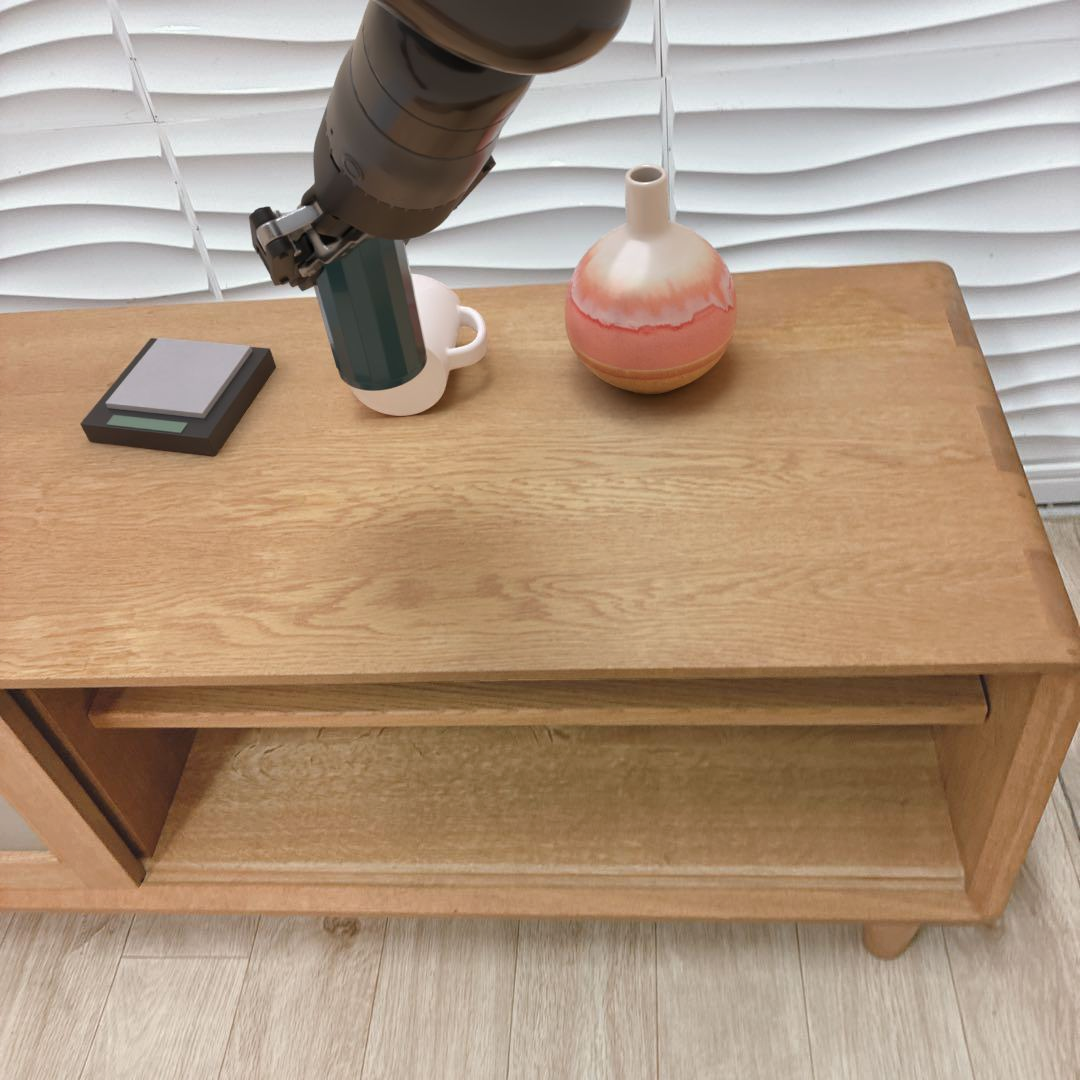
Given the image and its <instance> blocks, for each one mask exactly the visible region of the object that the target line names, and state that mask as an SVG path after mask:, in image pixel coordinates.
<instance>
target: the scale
mask: <svg viewBox="0 0 1080 1080" xmlns="http://www.w3.org/2000/svg"><path fill="white" fill-rule="evenodd" d="M276 367H277V365H276V362H275V360H274V356H273V353H272V351H271V348H268V347H259V346H258V347H257V346H252V345H248V344H239V343H238V344H237V343H236V344H235V343H225V342H214V341H204V340H194V339H193V340H191V339H182V338H181V339H180V338H171V337H170V338H168V337H158V338H154V337H150V339H148V341H147V342H146V343H145V345H144V346H143V347H142V348H141V350H139V352H138V353H137V354H136V355H135V356H134V358H133V359H132V360H131V361H130V362H129V364H128V365H127V366H126V368H125V369H124V370H123V371H122V372H121V373H120V375H119V376H118V377H117V379H116V380H115V381H113V383H112V384H111V386H110V387H109V388H108V389H107V390H106V391H105V393H104V394H103V396H101V398H100V399H99V400H98V401H97V402H96V404H95V405H94V406H93V407H92V409H91V410H90V411H89V412H88V414H87V415H86V416H85V417H84V418H83V420H82V421H81V422H80V427H81V428H82V430H83V432H84V434H85V435H86V438H87V440H88V442H91V443H97V444H98V443H100V444H107V445H108V444H109V445H116V446H125V447H131V448H132V447H133V448H142V449H151V450H159V451H167V452H176V453H177V452H178V453H184V454H185V453H186V454H194V455H201V456H202V455H203V456H209V457H216V456H217V454H218V453H219V451H220V449H222V447H223V446H224V444H225V442H226V441H227V439H228V438H229V436H230V435H231V433H232V432H233V430H234V429H235V427H236V426H237V425H238V423H239V422H240V420H241V419H242V417H243V416H244V414H245V413H246V411H247V410H248V409H249V407H250V406H251V404H252V403H253V401H254V400H255V398H256V397H257V395H258V394H259V392H260V391H261V390H262V388H263V387H264V385H265V384H266V382H267V380H268V379H269V378H270V376H271V374H272V373H273V372H274V371H275V369H276Z"/></svg>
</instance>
